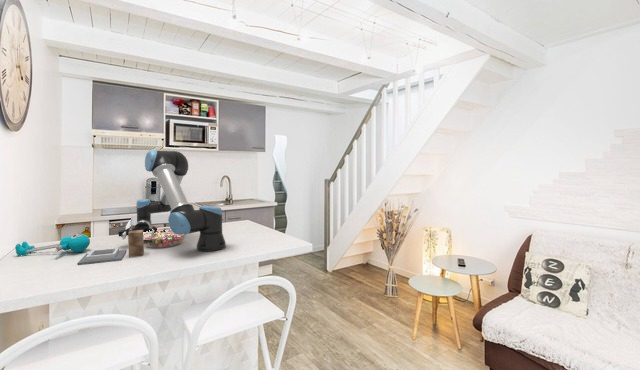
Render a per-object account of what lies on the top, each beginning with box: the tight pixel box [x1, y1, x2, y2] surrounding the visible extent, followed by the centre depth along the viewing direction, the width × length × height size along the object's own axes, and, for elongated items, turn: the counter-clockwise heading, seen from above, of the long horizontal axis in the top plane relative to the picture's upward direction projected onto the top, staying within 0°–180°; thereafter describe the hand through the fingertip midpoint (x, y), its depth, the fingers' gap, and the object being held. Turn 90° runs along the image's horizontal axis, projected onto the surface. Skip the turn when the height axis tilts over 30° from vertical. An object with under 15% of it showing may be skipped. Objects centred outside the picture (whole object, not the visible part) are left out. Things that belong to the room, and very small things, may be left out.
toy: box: [15, 232, 91, 257], centre depth 156 cm, size 22×10×30 cm
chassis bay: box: [77, 247, 127, 266], centre depth 149 cm, size 17×15×3 cm
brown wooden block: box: [127, 230, 145, 258], centre depth 155 cm, size 6×6×12 cm
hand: (138, 235), depth 163 cm, fingers open, 13 cm apart
